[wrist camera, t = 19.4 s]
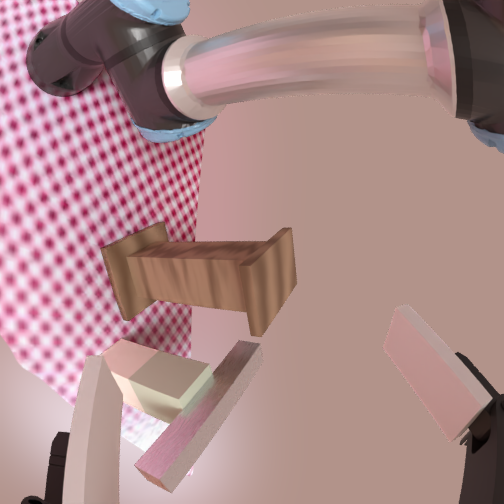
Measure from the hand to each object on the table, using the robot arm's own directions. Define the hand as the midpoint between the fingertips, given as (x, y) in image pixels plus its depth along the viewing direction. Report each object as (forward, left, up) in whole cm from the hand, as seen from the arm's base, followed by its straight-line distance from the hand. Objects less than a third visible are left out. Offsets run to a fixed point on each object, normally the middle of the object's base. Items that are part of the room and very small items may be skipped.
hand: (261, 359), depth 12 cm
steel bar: (+1, +26, -18) cm, 32 cm away
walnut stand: (-19, +22, -38) cm, 48 cm away
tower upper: (0, +27, -28) cm, 39 cm away
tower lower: (0, +27, -38) cm, 47 cm away
